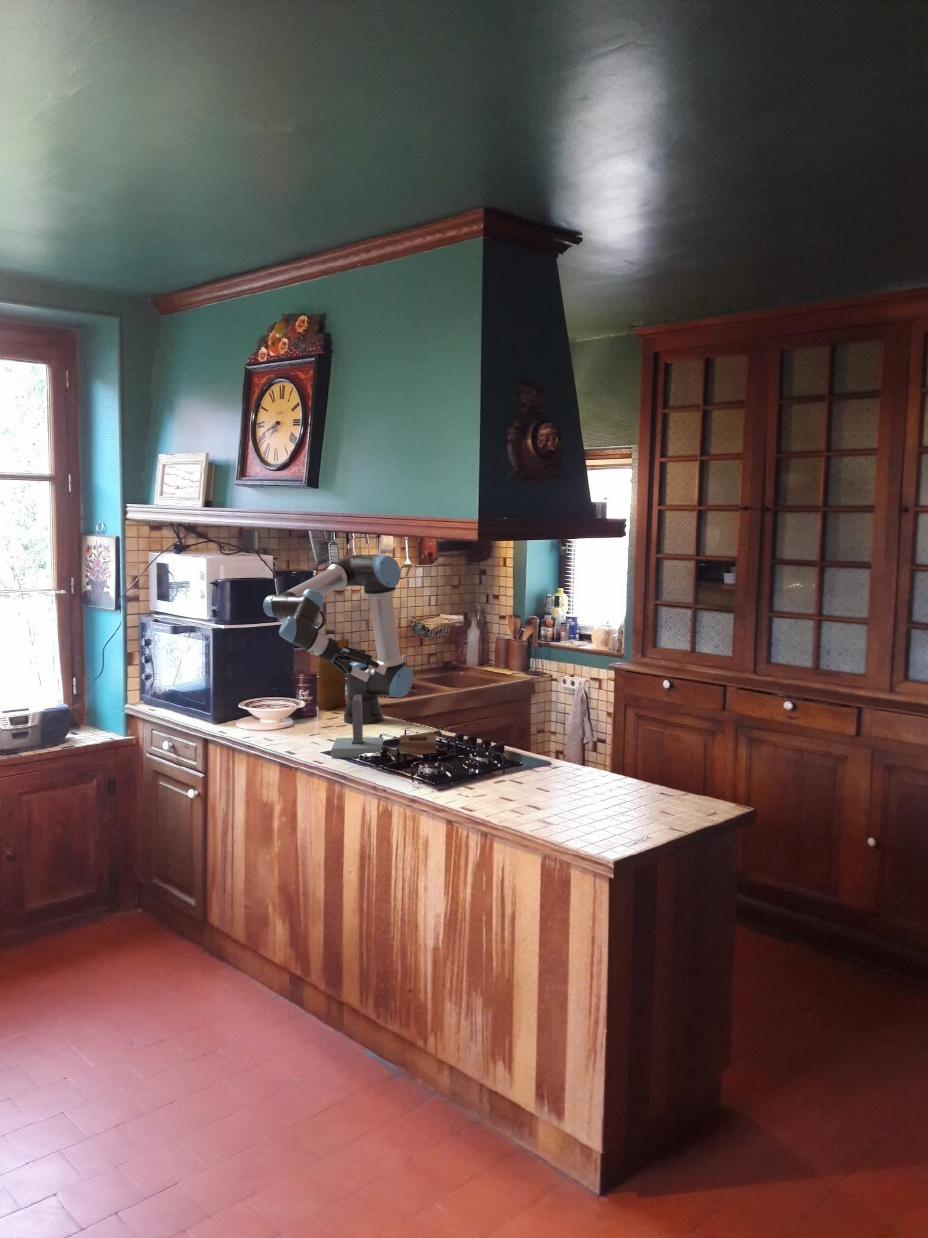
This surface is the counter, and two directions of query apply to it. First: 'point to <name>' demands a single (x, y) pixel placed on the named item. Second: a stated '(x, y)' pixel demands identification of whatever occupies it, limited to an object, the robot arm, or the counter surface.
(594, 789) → the counter surface
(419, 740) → the block
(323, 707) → the pancake mix bag
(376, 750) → the cover plate
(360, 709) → the t key
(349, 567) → the robot arm
